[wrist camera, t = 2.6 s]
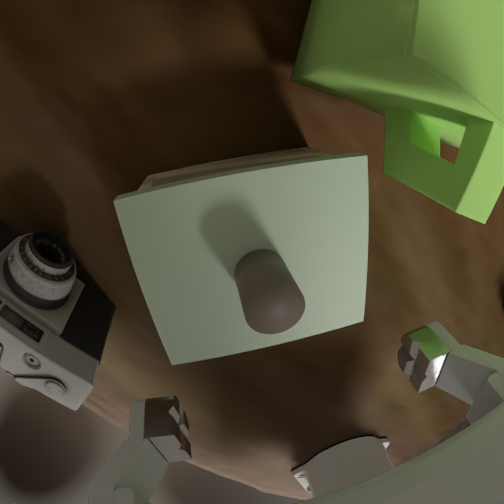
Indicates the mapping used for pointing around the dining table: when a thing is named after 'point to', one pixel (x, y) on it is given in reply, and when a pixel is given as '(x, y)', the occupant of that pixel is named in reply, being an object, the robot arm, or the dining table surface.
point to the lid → (251, 254)
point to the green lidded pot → (419, 87)
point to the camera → (49, 317)
